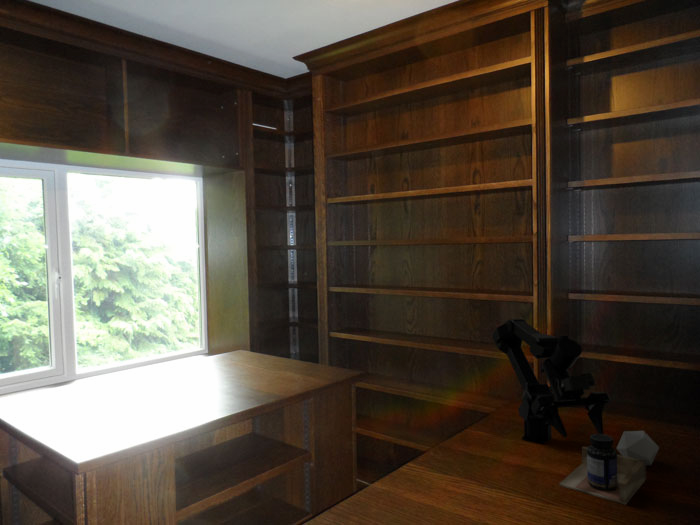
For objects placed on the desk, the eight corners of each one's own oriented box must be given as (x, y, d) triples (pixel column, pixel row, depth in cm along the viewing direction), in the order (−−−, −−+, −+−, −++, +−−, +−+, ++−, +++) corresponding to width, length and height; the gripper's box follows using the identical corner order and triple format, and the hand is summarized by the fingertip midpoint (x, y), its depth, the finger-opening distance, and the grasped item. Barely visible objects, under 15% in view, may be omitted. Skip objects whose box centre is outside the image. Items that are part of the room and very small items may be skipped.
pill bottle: (610, 479, 119) (609, 432, 119) (622, 492, 113) (621, 442, 113) (583, 479, 119) (582, 432, 119) (593, 491, 113) (593, 442, 113)
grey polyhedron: (656, 476, 123) (669, 439, 126) (622, 456, 124) (636, 421, 127) (638, 474, 131) (651, 440, 134) (606, 456, 132) (619, 422, 135)
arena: (559, 485, 118) (558, 466, 118) (583, 463, 129) (583, 446, 129) (625, 504, 108) (625, 484, 108) (645, 479, 120) (645, 460, 120)
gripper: (535, 363, 127) (559, 422, 116) (606, 360, 129) (635, 417, 118) (521, 386, 135) (542, 443, 124) (588, 383, 137) (614, 438, 126)
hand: (583, 435), depth 123 cm, fingers open, 9 cm apart
